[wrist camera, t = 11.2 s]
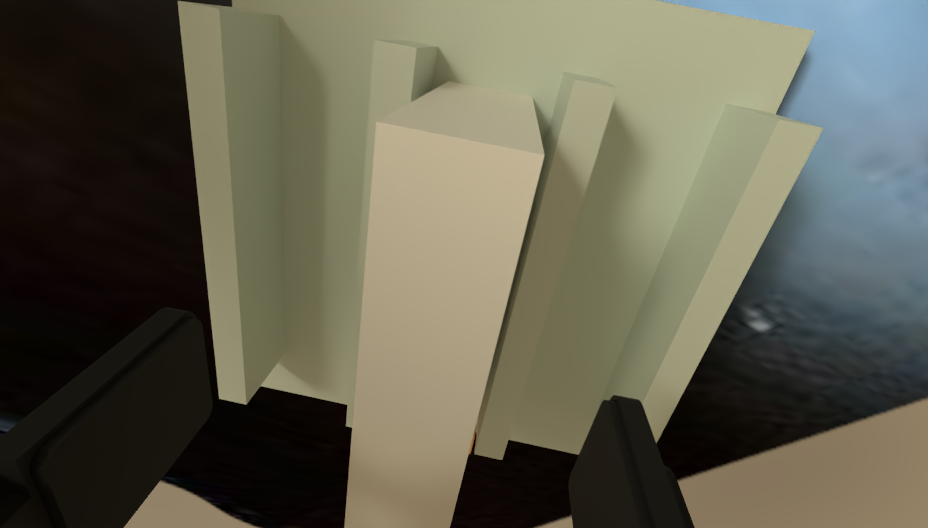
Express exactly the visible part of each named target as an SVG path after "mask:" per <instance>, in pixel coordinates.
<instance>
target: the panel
mask: <svg viewBox="0 0 928 528" xmlns="http://www.w3.org/2000/svg"><path fill="white" fill-rule="evenodd" d="M544 156H545V155H544V150H543V145H542V140H541V136H540V131H539V126H538V121H537V117H536V112H535V107H534V103H533V98H532V97H528V96H523V95H518V94H513V93H508V92H503V91H497V90H492V89H487V88H482V87H477V86H472V85H467V84H462V83H457V82H452V81H448V82H446V83H445V84H443V85H441V86H439V87H437V88H436V89H434V90H432V91H430V92H428V93H427V94H425V95H423V96H421V97H420V98H418V99H416V100H414V101H412V102H411V103H409V104H407V105H405V106H403V107H402V108H400V109H398V110H396V111H395V112H393V113H391V114H389V115H387V116H386V117H384V118H382V119H380V120H378V121H377V122H376V131H375V144H374V157H373V170H372V182H371V195H370V208H369V221H368V233H367V246H366V259H365V272H364V284H363V297H362V310H361V323H360V336H359V348H358V361H357V374H356V387H355V399H354V412H353V425H352V438H351V450H350V463H349V476H348V489H347V502H346V514H345V527H344V528H450V525H451V521H452V517H453V513H454V509H455V505H456V501H457V497H458V493H459V489H460V485H461V481H462V478H463V474H464V470H465V466H466V462H467V458H468V454H469V450H470V446H471V442H472V438H473V434H474V430H475V427H476V423H477V419H478V415H479V411H480V407H481V403H482V399H483V395H484V391H485V387H486V383H487V379H488V376H489V372H490V368H491V364H492V360H493V356H494V352H495V348H496V344H497V340H498V336H499V332H500V328H501V325H502V321H503V317H504V313H505V309H506V305H507V301H508V297H509V293H510V289H511V285H512V281H513V277H514V274H515V270H516V266H517V262H518V258H519V254H520V250H521V246H522V242H523V238H524V234H525V230H526V226H527V222H528V219H529V215H530V211H531V207H532V203H533V199H534V195H535V191H536V187H537V183H538V179H539V175H540V171H541V168H542V164H543V160H544Z"/></svg>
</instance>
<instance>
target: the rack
mask: <svg viewBox="0 0 928 528" xmlns="http://www.w3.org/2000/svg"><path fill="white" fill-rule="evenodd" d="M178 10H179V20H180V29H181V39H182V48H183V58H184V67H185V77H186V86H187V96H188V105H189V115H190V124H191V134H192V143H193V153H194V162H195V172H196V181H197V191H198V201H199V210H200V220H201V229H202V239H203V248H204V258H205V267H206V277H207V286H208V296H209V305H210V315H211V324H212V334H213V343H214V353H215V362H216V372H217V381H218V391H219V399H223V400H228V401H232V402H237V403H242V404H247V403H248V402H249V400H250V399H251V398H252V396H253V395H254V394H255V392H256V391H257V390H258V388H259V387H260V386H263V387H268V388H272V389H277V390H282V391H286V392H291V393H296V394H300V395H305V396H309V397H314V398H319V399H323V400H328V401H333V402H337V403H342V404H346V405H348V406H347V420H346V426H347V427H352V425H353V412H354V399H355V387H356V374H357V361H358V348H359V336H360V323H361V310H362V297H363V284H364V272H365V259H366V246H367V233H368V221H369V208H370V195H371V182H372V170H373V157H374V144H375V131H376V122H377V121H378V120H380V119H382V118H384V117H386V116H387V115H389V114H391V113H393V112H395V111H396V110H398V109H400V108H402V107H403V106H405V105H407V104H409V103H411V102H412V101H414V100H416V99H418V98H420V97H421V96H423V95H425V94H427V93H428V92H430V91H432V90H434V89H436V88H437V87H439V86H441V85H443V84H445V83H446V82H448V81H452V82H457V83H462V84H467V85H472V86H477V87H482V88H487V89H492V90H497V91H503V92H508V93H513V94H518V95H523V96H528V97H532V98H533V103H534V107H535V112H536V117H537V121H538V126H539V131H540V136H541V140H542V145H543V150H544V155H545V156H544V160H543V164H542V168H541V171H540V175H539V179H538V183H537V187H536V191H535V195H534V199H533V203H532V207H531V211H530V215H529V219H528V222H527V226H526V230H525V234H524V238H523V242H522V246H521V250H520V254H519V258H518V262H517V266H516V270H515V274H514V277H513V281H512V285H511V289H510V293H509V297H508V301H507V305H506V309H505V313H504V317H503V321H502V325H501V328H500V332H499V336H498V340H497V344H496V348H495V352H494V356H493V360H492V364H491V368H490V372H489V376H488V379H487V383H486V387H485V391H484V395H483V399H482V403H481V407H480V411H479V415H478V419H477V423H476V427H475V430H474V434H473V438H472V442H471V446H470V450H469V454H470V453H471V450H472V446H473V442H474V438H475V432H476V433H477V435H476V444H475V453H474V454H476V455H481V456H485V457H490V458H495V459H499V460H502V459H503V456H504V452H505V449H506V446H507V443H508V440H513V441H518V442H522V443H527V444H531V445H536V446H541V447H545V448H550V449H555V450H559V451H564V452H568V453H573V454H578V455H579V453H580V451H581V449H582V446H583V444H584V442H585V440H586V437H587V435H588V433H589V430H590V428H591V426H592V423H593V421H594V419H595V417H596V414H597V412H598V410H599V407H600V405H601V403H602V401H603V400H610V398H611V397H612V396H613V395H617V396H623V397H628V398H633V399H638V400H640V401H641V403H642V405H643V407H644V410H645V413H646V416H647V419H648V422H649V424H650V427H651V430H652V433H653V436H654V439H655V441H656V443H657V441H658V439H659V438H660V436H661V434H662V432H663V430H664V428H665V426H666V424H667V422H668V421H669V419H670V417H671V415H672V413H673V411H674V409H675V407H676V405H677V404H678V402H679V400H680V398H681V396H682V394H683V392H684V390H685V389H686V387H687V385H688V383H689V381H690V379H691V377H692V375H693V373H694V372H695V370H696V368H697V366H698V364H699V362H700V360H701V358H702V356H703V355H704V353H705V351H706V349H707V347H708V345H709V343H710V341H711V340H712V338H713V336H714V334H715V332H716V330H717V328H718V326H719V324H720V323H721V321H722V319H723V317H724V315H725V313H726V311H727V309H728V307H729V306H730V304H731V302H732V300H733V298H734V296H735V294H736V292H737V291H738V289H739V287H740V285H741V283H742V281H743V279H744V277H745V275H746V274H747V272H748V270H749V268H750V266H751V264H752V262H753V260H754V259H755V257H756V255H757V253H758V251H759V249H760V247H761V245H762V243H763V242H764V240H765V238H766V236H767V234H768V232H769V230H770V228H771V226H772V225H773V223H774V221H775V219H776V217H777V215H778V213H779V211H780V210H781V208H782V206H783V204H784V202H785V200H786V198H787V196H788V194H789V193H790V191H791V189H792V187H793V185H794V183H795V181H796V179H797V177H798V176H799V174H800V172H801V170H802V168H803V166H804V164H805V162H806V161H807V159H808V157H809V155H810V153H811V151H812V149H813V147H814V145H815V144H816V142H817V140H818V138H819V136H820V134H821V132H822V130H823V128H821V127H817V126H814V125H811V124H807V123H804V122H800V121H797V120H793V119H790V118H786V117H783V116H779V115H776V112H777V110H778V108H779V106H780V104H781V102H782V100H783V98H784V96H785V93H786V91H787V89H788V87H789V85H790V83H791V81H792V79H793V77H794V75H795V72H796V70H797V68H798V66H799V64H800V62H801V60H802V58H803V56H804V53H805V51H806V49H807V47H808V45H809V43H810V41H811V39H812V37H813V35H814V32H815V31H812V30H807V29H802V28H796V27H791V26H786V25H781V24H776V23H770V22H765V21H760V20H755V19H750V18H744V17H739V16H734V15H729V14H724V13H718V12H713V11H708V10H703V9H698V8H693V7H687V6H682V5H677V4H672V3H667V2H661V1H656V0H232V7H227V6H218V5H210V4H201V3H193V2H184V1H178Z"/></svg>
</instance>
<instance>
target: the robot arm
mask: <svg viewBox="0 0 928 528" xmlns="http://www.w3.org/2000/svg"><path fill="white" fill-rule="evenodd" d="M211 411H212V395H211V388H210V380H209V372H208V365H207V357H206V349H205V341H204V334H203V326H202V322H201V321H200V320H197V318H196V315H195V314H194V313H193V312H190V311H184V310H179V309H174V308H169V307H166V308H163V309H161V310H159V311H158V312H157V313H156V314H154V315H153V316H152V317H151V318H149V319H148V320H147V321H146V322H144V323H143V324H142V325H141V326H139V327H138V328H137V329H135V330H134V331H133V332H132V333H130V334H129V335H128V336H127V337H125V338H124V339H123V340H122V341H120V342H119V343H118V344H117V345H115V346H114V347H113V348H112V349H110V350H109V351H108V352H107V353H105V354H104V355H103V356H102V357H100V358H99V359H98V360H97V361H95V362H94V363H93V364H92V365H90V366H89V367H88V368H87V369H85V370H84V371H83V372H82V373H80V374H79V375H78V376H77V377H75V378H74V379H73V380H72V381H70V382H69V383H68V384H67V385H65V386H64V387H63V388H62V389H60V390H59V391H58V392H57V393H55V394H54V395H53V396H52V397H50V398H49V399H48V400H47V401H45V402H44V403H43V404H42V405H40V406H39V407H38V408H37V409H35V410H34V411H33V412H32V413H30V414H29V415H28V416H27V417H25V418H24V419H23V420H22V421H20V422H19V423H18V424H17V425H15V426H14V427H13V428H12V429H10V430H9V431H8V432H7V433H5V434H4V435H3V436H2V437H0V528H123V527H124V526H125V525H126V524H127V522H128V521H129V520H130V519H131V517H132V516H133V515H134V513H135V512H136V511H137V510H138V508H139V507H140V506H141V504H142V503H143V502H144V501H145V499H146V498H147V497H148V495H149V494H150V493H151V492H152V490H153V489H154V488H155V486H156V485H157V484H158V483H159V481H160V480H161V479H162V477H163V476H164V475H165V474H166V472H167V471H168V470H169V468H170V467H171V466H172V465H173V463H174V462H175V461H176V459H177V458H178V457H179V456H180V454H181V453H182V452H183V450H184V449H185V448H186V447H187V445H188V444H189V443H190V441H191V440H192V439H193V437H194V436H195V435H196V434H197V432H198V431H199V430H200V428H201V427H202V426H203V425H204V423H205V422H206V421H207V419H208V418H209V416H210V414H211ZM569 497H570V505H571V513H572V520H573V528H694V525H693V522H692V520H691V517H690V514H689V512H688V509H687V507H686V504H685V501H684V498H683V495H682V493H681V490H680V487H679V485H678V482H677V479H676V477H675V475H674V473H673V471H672V470H671V469H670V468H669V467H667V466H664V464H663V461H662V458H661V456H660V453H659V450H658V447H657V444H656V441H655V439H654V436H653V433H652V430H651V427H650V424H649V422H648V419H647V416H646V413H645V410H644V407H643V405H642V403H641V401H640V400H638V399H633V398H628V397H623V396H617V395H613V396H612V397H611V398H610V400H603V401H602V403H601V405H600V407H599V410H598V412H597V414H596V417H595V419H594V421H593V423H592V426H591V428H590V430H589V433H588V435H587V437H586V440H585V442H584V444H583V446H582V449H581V451H580V453H579V456H578V458H577V460H576V463H575V465H574V467H573V469H572V472H571V474H570V478H569Z"/></svg>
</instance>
